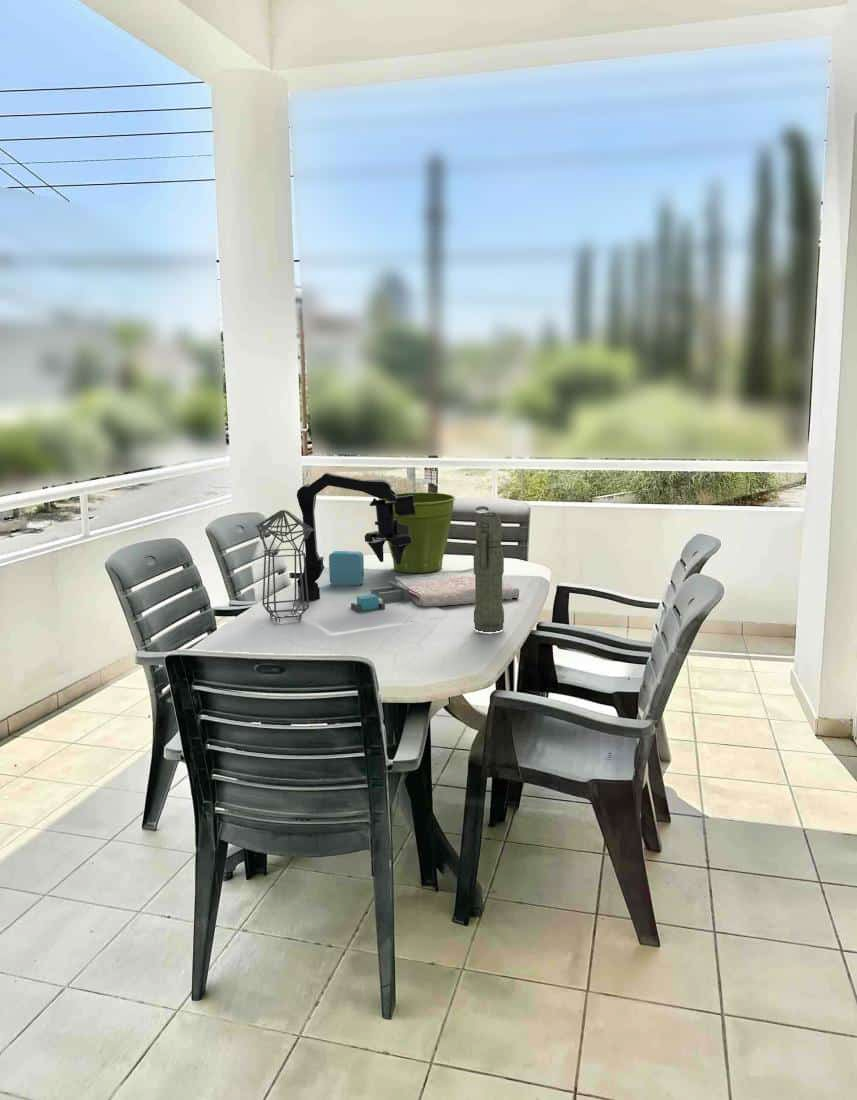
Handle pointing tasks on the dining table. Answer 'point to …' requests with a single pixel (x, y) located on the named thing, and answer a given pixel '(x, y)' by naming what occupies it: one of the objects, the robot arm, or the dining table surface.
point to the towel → (447, 588)
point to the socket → (392, 592)
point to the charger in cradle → (359, 609)
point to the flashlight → (488, 573)
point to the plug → (369, 602)
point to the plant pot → (425, 532)
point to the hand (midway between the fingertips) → (390, 563)
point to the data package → (346, 568)
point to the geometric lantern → (263, 529)
